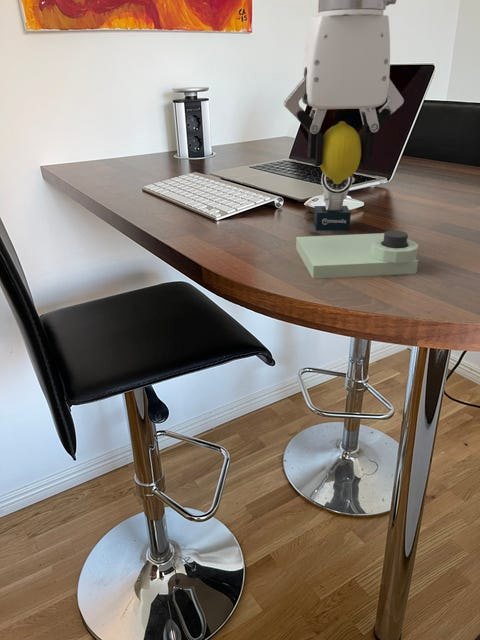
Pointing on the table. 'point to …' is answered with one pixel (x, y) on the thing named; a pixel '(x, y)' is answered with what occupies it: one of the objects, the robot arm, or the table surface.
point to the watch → (333, 206)
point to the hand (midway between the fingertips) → (339, 162)
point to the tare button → (395, 239)
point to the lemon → (340, 152)
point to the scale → (355, 256)
